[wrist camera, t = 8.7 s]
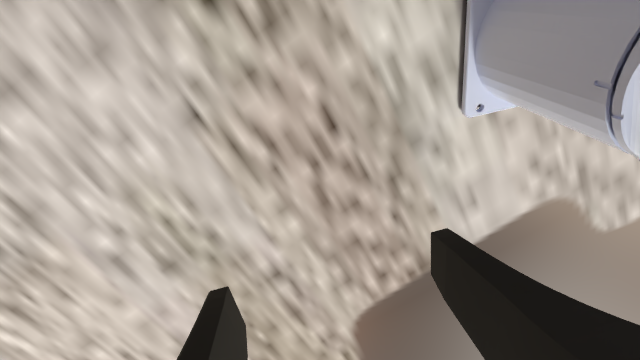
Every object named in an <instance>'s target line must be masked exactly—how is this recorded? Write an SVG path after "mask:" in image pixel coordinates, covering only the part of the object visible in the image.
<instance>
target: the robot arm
mask: <svg viewBox="0 0 640 360" xmlns="http://www.w3.org/2000/svg"><path fill="white" fill-rule="evenodd" d="M479 104H480V108H479V109H478V110H476V107H477V106H478V105H479ZM518 106H519V107H521V108H524V109H526V110H528V111H531V112H533V113H535V114H538V115H540V116H542V117H545V118H547V119H549V120H552V121H554V122H556V123H559V124H561V125H563V126H566V127H568V128H570V129H572V130H575V131H577V132H579V133H582V134H584V135H586V136H589V137H591V138H593V139H596V140H598V141H600V142H603V143H605V144H607V145H610V146H612V147H614V148H617V149H619V150H621V151H623V152H626V153H629V154H631V155H633V156H634V157H636V158H638V159H639V161H640V0H467V17H466V36H465V55H464V75H463V94H462V113H463V115H465V116H466V117H475V116H479V115H484V114H488V113H492V112H497V111H501V110H505V109H510V108H514V107H518ZM431 275H432V277H433V279H434V281H435V282H436V285H437V287H438V288H439V290H440V292H441V294H442V296H443V298H444V300H445V301H446V303H447V304H448V306H449V307H450V309H451V310H452V312H453V313H454V315H455V316H456V318H457V319H458V321H459V322H460V324H461V325H462V327H463V328H464V329H465V331H466V332H467V334H468V335H469V337H470V338H471V340H472V341H473V343H474V344H475V346H476V347H477V348H478V350H479V351H480V353H481V354H482V356H483V357H484V359H485V360H640V325H637V324H635V323H632V322H629V321H626V320H624V319H621V318H619V317H616V316H613V315H611V314H608V313H606V312H603V311H601V310H598V309H596V308H593V307H591V306H588V305H586V304H584V303H581V302H579V301H577V300H575V299H573V298H570V297H568V296H566V295H564V294H562V293H560V292H557V291H555V290H553V289H551V288H549V287H547V286H545V285H543V284H541V283H539V282H537V281H535V280H533V279H531V278H529V277H528V276H526V275H524V274H522V273H520V272H518V271H517V270H515V269H513V268H511V267H509V266H508V265H506V264H504V263H503V262H501V261H499V260H498V259H496V258H494V257H492V256H491V255H489V254H487V253H486V252H484V251H483V250H481V249H479V248H478V247H476V246H475V245H473V244H472V243H470V242H468V241H467V240H465V239H464V238H462V237H461V236H459V235H457V234H456V233H454V232H453V231H451V230H449V229H448V228H446V229H443V230H439V231H435V232H431ZM247 358H248V354H247V338H246V325H245V323H244V320H243V318H242V316H241V314H240V311H239V309H238V307H237V305H236V303H235V300H234V298H233V296H232V294H231V291H230V289H229V287H224V288H220V289H217V290H213V291H210V292H209V294H208V296H207V298H206V300H205V302H204V304H203V307H202V309H201V311H200V313H199V315H198V318H197V320H196V322H195V324H194V326H193V328H192V330H191V332H190V334H189V336H188V338H187V340H186V342H185V344H184V346H183V348H182V350H181V352H180V354H179V356H178V358H177V360H247Z"/></svg>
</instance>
